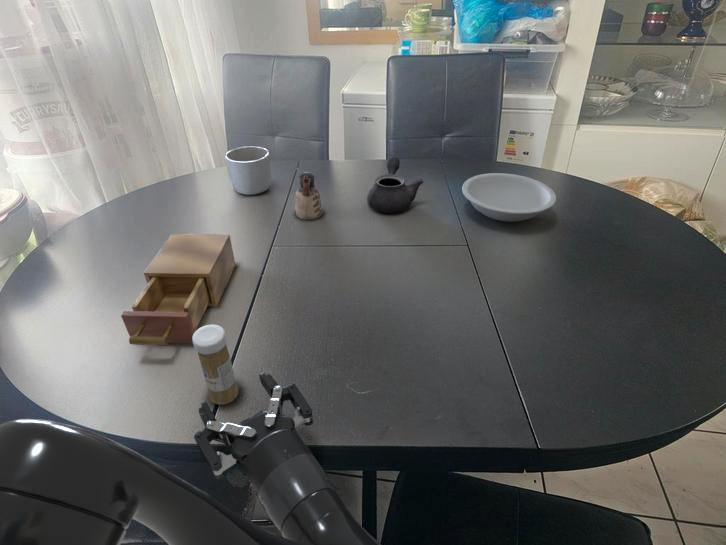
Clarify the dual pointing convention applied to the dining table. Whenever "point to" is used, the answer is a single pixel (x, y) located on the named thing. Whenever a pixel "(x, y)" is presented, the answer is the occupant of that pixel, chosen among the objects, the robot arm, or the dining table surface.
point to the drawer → (167, 310)
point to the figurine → (308, 198)
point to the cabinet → (196, 261)
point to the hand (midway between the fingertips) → (233, 390)
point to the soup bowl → (508, 196)
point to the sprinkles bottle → (216, 363)
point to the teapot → (392, 190)
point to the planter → (249, 169)
